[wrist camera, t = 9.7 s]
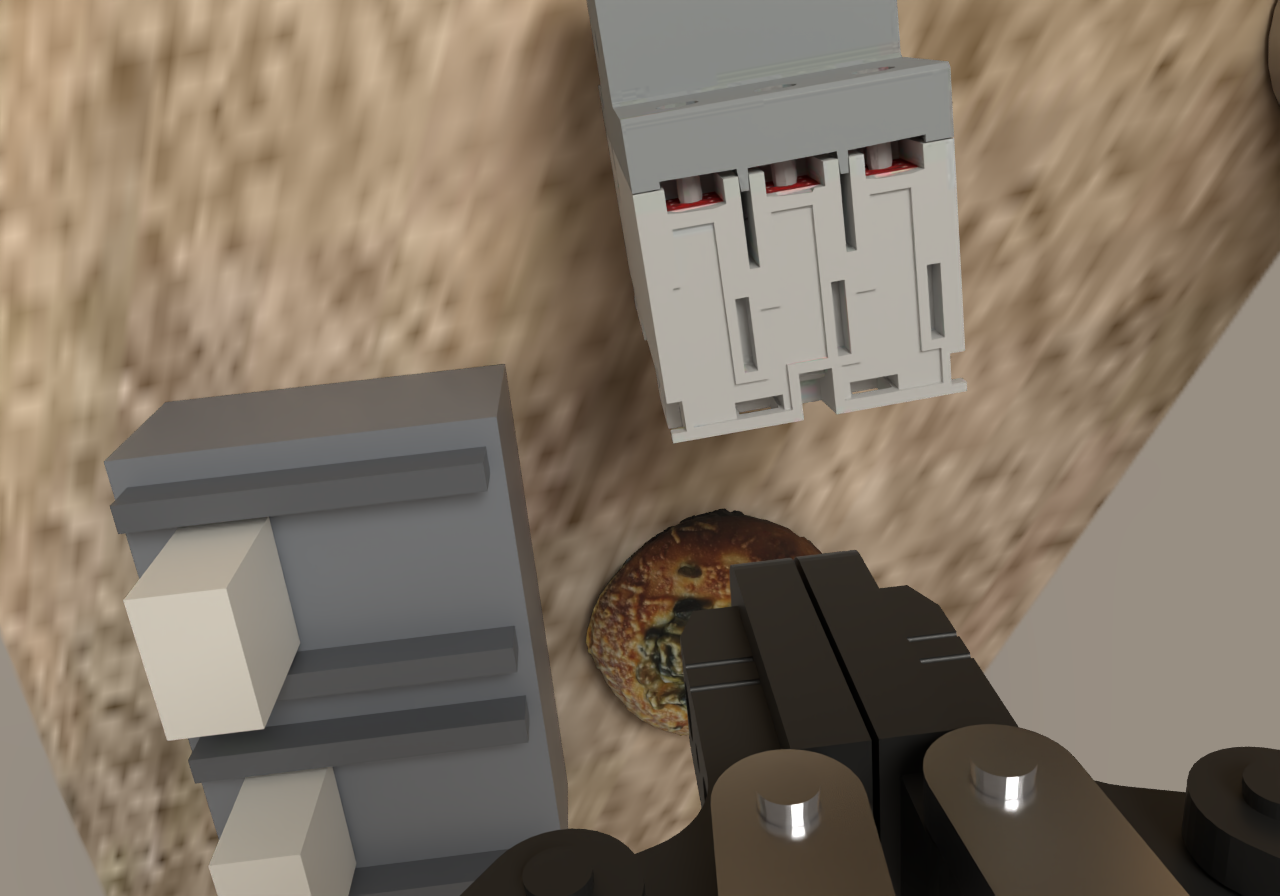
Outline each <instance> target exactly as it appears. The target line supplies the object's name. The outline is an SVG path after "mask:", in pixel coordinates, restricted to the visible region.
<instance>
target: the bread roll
mask: <svg viewBox="0 0 1280 896" xmlns="http://www.w3.org/2000/svg"><path fill="white" fill-rule="evenodd" d="M681 522H683V523H681ZM681 522H680V523H681V524H679V525H677V526H673V527H669V528H668V529H666V530H664V532H661V533H659V534H657V535H656V537H653V538H652V539H650V540H649V541H648V542H647V543H645V544H644V546H642V547H641V548H640V549H639V550H638V551H637V552H636V553H634V555H632V556H631V558H630V557H629V559H628V560H626V562H625V563H624V565H623V567H622V568H621V569H620V571H619V572H618V573H617V574H616V575H615V576H614V577H613V579H612V580H611V581H610V582H609V583H608V585H607V586H606V588H605V589H604V591H603V592H602V593H601V594H600V596H599V599H598V601H597V603H596V605H595V607H594V610H593V613H592V616H591V620H590V623H589V626H588V629H587V638H586V644H587V646H588V652H589V653H590V654H591V655H592V656H593V659H594V661H595V663H596V666H597V668H598V669H599V670H600V671H601V672H602V674H603V676H604V679H605V681H606V683H607V684H608V685H609V686H610V688H611V689H612V691H613V693H614V694H615V695H616V696H617V697H618V698H619V699H620V700H621V701H622V702H623V703H624V704H625V706H626V707H627V709H628V711H630V712H633V713H634V714H635V715H636V716H637V717H638V718H640V719H641V720H642V721H645V722H647V723H648V724H650V725H652V726H654V727H658V728H660V729H662V730H665V731H668V732H672V733H677V734H679V735H680V736H681V735H689V727H688V717H687V706H686V696H685V685H684V675H683V664H682V654H681V643H680V636H681V634H682V632H683V630H684V628H685V626H686V624H687V622H688V620H689V618H690V616H691V614H692V612H693V611H698V610H707V609H715V608H723V607H732V606H731V593H730V565H734V564H742V563H751V562H759V561H767V560H776V559H784V558H792V559H793V561H794V558H795V557H799V556H808V555H816V554H822V553H821V552H820V551H819V550H818V549H817V548H816V547H815V546H814V545H813V544H812V543H811V541H809V540H807V539H806V538H805V537H799V536H798V535H796V534H795V533H793V532H792V531H791V530H790V529H788V528H786V527H783V526H781V525H778V524H775V523H773V522H770V521H767V520H762V519H758V518H754V517H751V516H747V515H744V514H743V513H742V512H740V511H735V510H734V511H732V512H729V511H727V510H726V509H719V510H715V511H713V512H709V513H705V514H700V515H697V516H692V517H688V518H686V519H684V520H683V521H681Z"/></svg>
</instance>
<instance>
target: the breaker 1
mask: <svg viewBox="0 0 1280 896" xmlns="http://www.w3.org/2000/svg"><path fill="white" fill-rule="evenodd" d="M123 601H124V604H125V607H126V611H127V614H128V617H129V620H130V623H131V626H132V630H133V633H134V636H135V639H136V642H137V646H138V649H139V652H140V655H141V658H142V661H143V665H144V668H145V671H146V674H147V677H148V681H149V684H150V687H151V690H152V693H153V696H154V700H155V703H156V706H157V709H158V712H159V716H160V719H161V722H162V725H163V728H164V731H165V735H166V738H167V741H169V740H177V739H186V738H194V737H202V736H210V735H218V734H227V733H235V732H243V731H251V730H260V729H264V728H265V726H266V724H267V721H268V719H269V717H270V714H271V712H272V709H273V707H274V705H275V702H276V700H277V697H278V695H279V693H280V690H281V688H282V686H283V683H284V681H285V678H286V676H287V674H288V671H289V669H290V666H291V664H292V662H293V659H294V657H295V655H296V652H297V650H298V647H299V645H300V640H299V636H298V632H297V628H296V624H295V620H294V616H293V612H292V608H291V604H290V600H289V596H288V592H287V588H286V584H285V580H284V576H283V572H282V568H281V564H280V560H279V556H278V552H277V548H276V544H275V540H274V535H273V531H272V527H271V523H270V519H269V517H261V518H252V519H243V520H235V521H226V522H217V523H209V524H200V525H192V526H183V527H179V528H178V529H177V530H176V532H175V533H174V534H173V536H172V537H171V538H170V539H169V541H168V542H167V543H166V545H165V546H164V547H163V549H162V550H161V551H160V553H159V554H158V555H157V557H156V558H155V559H154V561H153V562H152V563H151V565H150V566H149V567H148V569H147V570H146V571H145V573H144V574H143V575H142V576H141V578H140V579H139V580H138V582H137V583H136V584H135V586H134V587H133V588H132V590H131V591H130V592H129V594H128V595H127V596H126V598H125V599H124V600H123Z"/></svg>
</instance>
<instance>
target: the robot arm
mask: <svg viewBox="0 0 1280 896" xmlns="http://www.w3.org/2000/svg"><path fill="white" fill-rule="evenodd" d="M1268 67H1269V72H1270V77H1271V82H1272V87H1273V92H1274V94H1275V96H1276V98H1277V100H1278V103H1279V105H1280V0H1278V2H1277V4H1276V7H1275V10H1274V15H1273V20H1272V25H1271V29H1270V34H1269V54H1268ZM730 593H731V606H732V607H723V608H715V609H707V610H698V611H693V612H692V614H691V616H690V618H689V620H688V622H687V624H686V626H685V628H684V630H683V632H682V634H681V636H680V643H681V654H682V664H683V675H684V685H685V696H686V706H687V717H688V727H689V738H690V746H691V752H692V757H693V763H694V768H695V774H696V778H697V785H698V790H699V796H700V800H701V807H702V809H701V810H700V812H699V814H698V815H697V817H696V818H695V819H694V820H693V821H692V822H691V823H690V824H689V825H688V826H687V827H686V828H685V829H683V830H682V831H681V832H680V833H678V834H677V835H675V836H674V837H672V838H670V839H669V840H667V841H665V842H663V843H661V844H659V845H656V846H654V847H652V848H649V849H647V850H644V851H642V852H639V853H637V854H634V853H633V852H632V851H631V850H630V849H629V847H627V846H626V845H625V844H623V843H622V842H621V841H619V840H617V839H616V838H614V837H612V836H610V835H607V834H604V833H601V832H598V831H592V830H586V829H562V830H555V831H550V832H545V833H542V834H539V835H536V836H533V837H530V838H528V839H526V840H524V841H522V842H520V843H518V844H516V845H515V846H513V847H512V848H510V849H508V850H507V851H506V852H505V853H503V854H502V855H501V856H500V857H499V858H497V859H496V860H495V861H494V862H493V863H492V864H491V865H490V866H489V867H488V868H487V869H486V870H485V871H484V872H483V873H482V874H481V875H480V876H479V877H478V878H477V879H476V880H475V881H474V882H473V883H472V884H471V885H470V886H469V887H468V888H467V889H466V890H465V891H464V892H463V893H462V894H461V895H460V896H1280V750H1276V749H1269V748H1262V747H1261V748H1260V747H1234V748H1227V749H1222V750H1218V751H1215V752H1212V753H1210V754H1208V755H1206V756H1204V757H1202V758H1201V759H1200V760H1198V761H1197V762H1196V763H1195V764H1194V765H1193V767H1192V768H1191V770H1190V771H1189V775H1188V779H1187V788H1186V792H1177V791H1167V790H1156V789H1146V788H1136V787H1126V786H1119V785H1113V784H1107V783H1103V782H1099V781H1094V780H1093V779H1092V778H1091V776H1090V775H1089V774H1088V773H1087V772H1086V770H1085V769H1084V768H1083V767H1082V766H1081V764H1080V763H1079V762H1078V761H1077V760H1076V759H1075V757H1074V756H1072V754H1071V753H1070V752H1069V751H1068V750H1066V749H1065V748H1064V747H1062V746H1061V745H1059V744H1058V743H1057V742H1055V741H1053V740H1051V739H1049V738H1048V737H1046V736H1043V735H1041V734H1038V733H1036V732H1033V731H1030V730H1026V729H1023V728H1019V727H1018V725H1017V724H1016V722H1015V721H1014V719H1013V718H1012V716H1011V715H1010V713H1009V712H1008V710H1007V709H1006V707H1005V706H1004V704H1003V702H1002V701H1001V699H1000V698H999V696H998V695H997V693H996V692H995V690H994V689H993V687H992V686H991V684H990V683H989V681H988V680H987V678H986V676H985V675H984V673H983V672H982V670H981V669H980V667H979V666H978V664H977V663H976V661H975V660H974V658H971V657H970V652H969V650H968V649H967V647H966V646H965V644H964V643H963V641H962V640H961V638H960V637H959V636H958V637H957V635H956V630H955V629H954V627H953V626H952V624H951V623H950V621H949V620H948V618H947V617H946V615H945V614H944V612H943V611H942V609H941V607H940V606H939V605H938V604H936V603H934V602H933V601H931V600H930V599H928V598H927V597H925V596H923V595H922V594H920V593H919V592H917V591H915V590H914V589H912V588H911V587H909V586H907V585H905V586H897V587H888V588H880V589H879V587H878V586H877V584H876V582H875V580H874V579H873V577H872V575H871V573H870V571H869V570H868V568H867V566H866V564H865V563H864V561H863V559H862V557H861V556H860V554H859V552H858V551H857V550H850V551H842V552H833V553H825V554H816V555H808V556H799V557H795V558H794V561H793V559H792V558H784V559H776V560H767V561H759V562H751V563H742V564H734V565H730Z"/></svg>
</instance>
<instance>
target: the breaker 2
mask: <svg viewBox="0 0 1280 896" xmlns="http://www.w3.org/2000/svg"><path fill="white" fill-rule="evenodd" d="M355 867H356V860H355V856H354V852H353V848H352V844H351V840H350V836H349V832H348V828H347V824H346V819H345V815H344V811H343V807H342V803H341V799H340V795H339V791H338V787H337V783H336V779H335V775H334V771H333V767H325V768H317V769H308V770H300V771H292V772H284V773H276V774H268V775H260V776H251V777H245V780H244V782H243V784H242V787H241V789H240V792H239V794H238V796H237V799H236V801H235V804H234V806H233V808H232V811H231V813H230V816H229V818H228V820H227V823H226V825H225V828H224V830H223V832H222V835H221V837H220V840H219V842H218V844H217V847H216V849H215V852H214V854H213V856H212V859H211V861H210V864H209V869H210V872H211V876H212V879H213V882H214V885H215V888H216V892H217V895H218V896H348V895H349V891H350V887H351V883H352V879H353V875H354V871H355Z"/></svg>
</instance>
